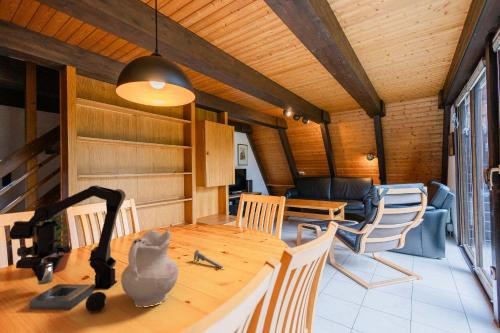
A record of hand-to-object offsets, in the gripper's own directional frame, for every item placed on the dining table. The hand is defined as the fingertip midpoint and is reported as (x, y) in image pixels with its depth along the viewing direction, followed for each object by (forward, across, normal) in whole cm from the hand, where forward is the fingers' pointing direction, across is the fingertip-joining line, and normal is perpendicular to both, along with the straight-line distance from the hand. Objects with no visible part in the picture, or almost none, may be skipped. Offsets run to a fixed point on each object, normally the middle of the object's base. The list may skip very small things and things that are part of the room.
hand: (45, 277), depth 96 cm
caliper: (+6, -30, +58) cm, 66 cm away
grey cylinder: (+2, 0, 0) cm, 2 cm away
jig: (+5, +6, +12) cm, 15 cm away
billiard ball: (+6, +12, +28) cm, 31 cm away
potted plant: (+5, -20, -14) cm, 25 cm away
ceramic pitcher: (+6, +5, +43) cm, 44 cm away
